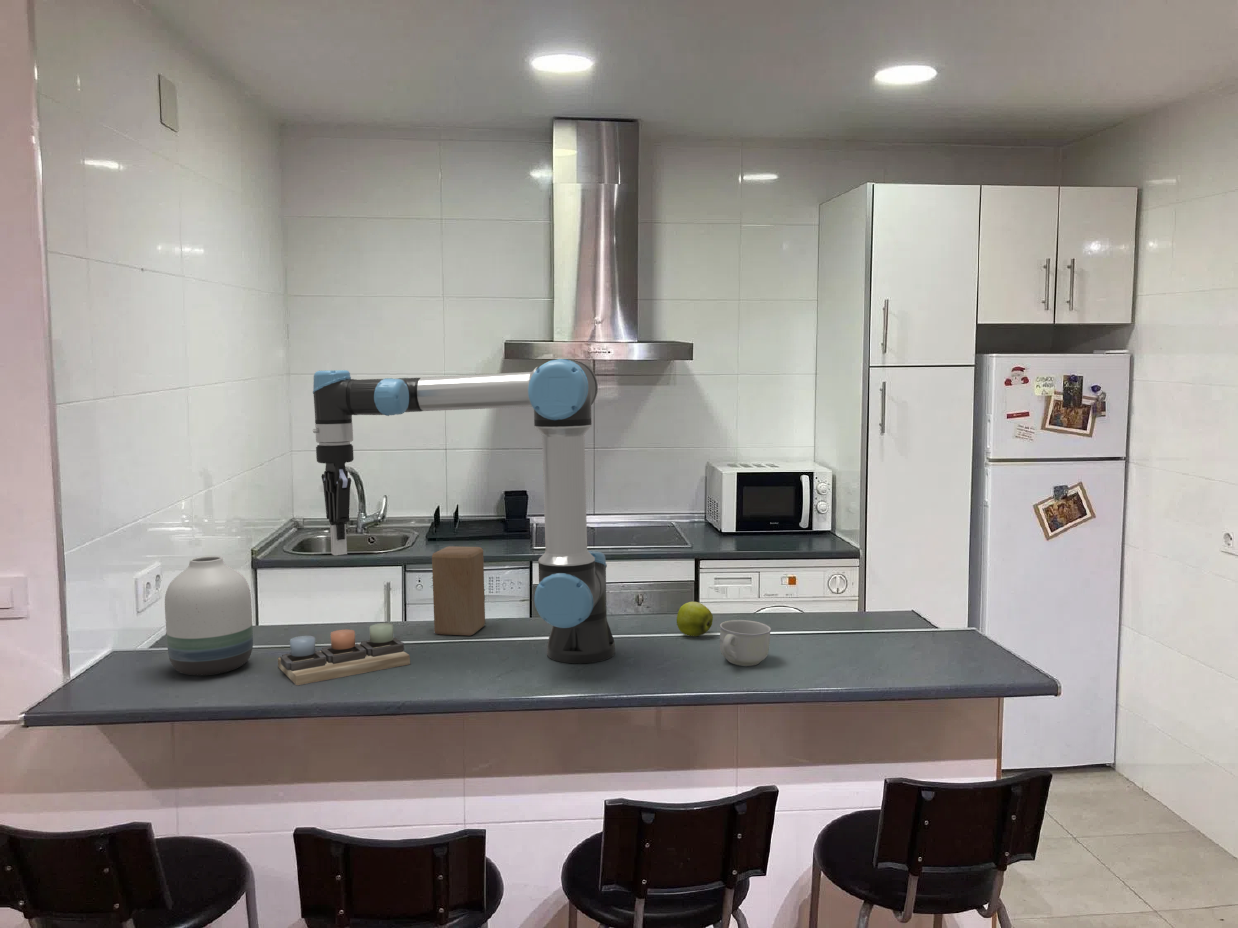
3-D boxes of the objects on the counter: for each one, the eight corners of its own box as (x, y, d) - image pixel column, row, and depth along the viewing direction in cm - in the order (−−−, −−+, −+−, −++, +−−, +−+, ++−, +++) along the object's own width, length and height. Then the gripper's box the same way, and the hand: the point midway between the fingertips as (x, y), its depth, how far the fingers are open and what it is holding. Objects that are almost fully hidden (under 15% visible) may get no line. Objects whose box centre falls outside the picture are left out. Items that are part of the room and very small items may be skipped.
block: (472, 636, 227) (470, 553, 225) (433, 635, 229) (430, 552, 227) (486, 625, 237) (484, 546, 235) (448, 624, 239) (446, 545, 237)
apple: (685, 629, 231) (685, 596, 231) (718, 634, 226) (718, 601, 225) (668, 636, 225) (667, 603, 224) (701, 642, 220) (701, 608, 219)
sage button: (396, 640, 210) (396, 626, 210) (374, 644, 207) (373, 630, 207) (388, 635, 214) (388, 622, 214) (366, 638, 211) (366, 625, 211)
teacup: (740, 651, 212) (740, 616, 212) (781, 661, 205) (781, 624, 204) (699, 665, 203) (699, 628, 202) (740, 676, 195) (740, 638, 194)
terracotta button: (358, 646, 205) (357, 633, 205) (335, 650, 202) (334, 636, 202) (351, 641, 209) (350, 628, 209) (328, 645, 207) (327, 631, 206)
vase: (150, 676, 201) (143, 563, 198) (211, 654, 216) (205, 549, 214) (212, 685, 195) (206, 568, 192) (271, 661, 210) (266, 553, 208)
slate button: (318, 653, 201) (317, 639, 200) (294, 657, 198) (293, 643, 198) (311, 648, 205) (311, 634, 204) (287, 652, 202) (287, 638, 202)
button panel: (412, 663, 207) (411, 648, 206) (294, 685, 193) (293, 668, 193) (388, 647, 219) (387, 632, 219) (275, 667, 206) (274, 651, 205)
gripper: (307, 442, 205) (312, 551, 208) (326, 446, 194) (331, 561, 196) (342, 441, 209) (346, 547, 212) (362, 444, 198) (367, 556, 200)
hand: (339, 553), depth 204 cm, fingers closed
